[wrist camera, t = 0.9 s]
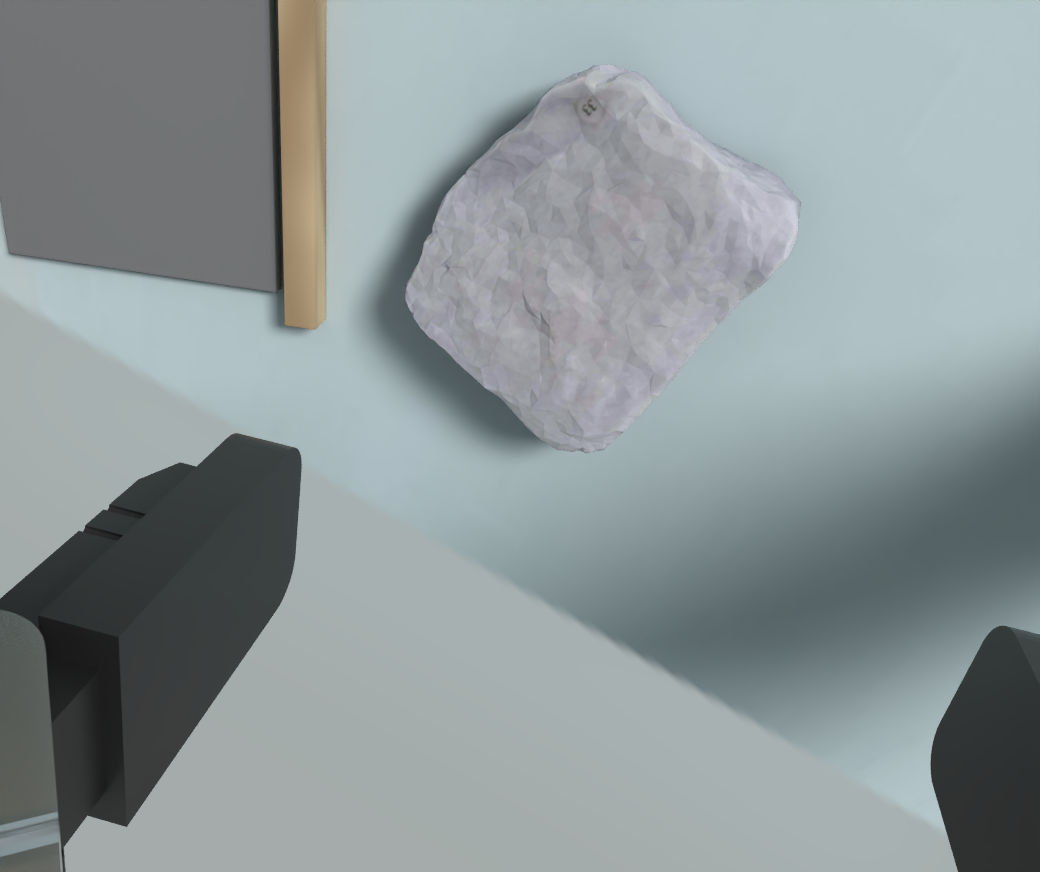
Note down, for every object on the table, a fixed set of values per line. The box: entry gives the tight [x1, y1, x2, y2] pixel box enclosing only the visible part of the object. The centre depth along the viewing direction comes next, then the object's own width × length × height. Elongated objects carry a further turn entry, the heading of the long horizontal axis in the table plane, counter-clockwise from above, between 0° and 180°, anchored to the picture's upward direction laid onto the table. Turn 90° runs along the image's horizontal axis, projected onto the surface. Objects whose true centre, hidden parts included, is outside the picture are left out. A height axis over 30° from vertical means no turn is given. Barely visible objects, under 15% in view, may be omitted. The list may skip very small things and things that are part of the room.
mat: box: [0, 0, 281, 292], centre depth 33 cm, size 11×12×1 cm
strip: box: [278, 0, 326, 330], centre depth 32 cm, size 1×14×1 cm, turn 174°
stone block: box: [405, 64, 801, 453], centre depth 31 cm, size 12×5×10 cm
